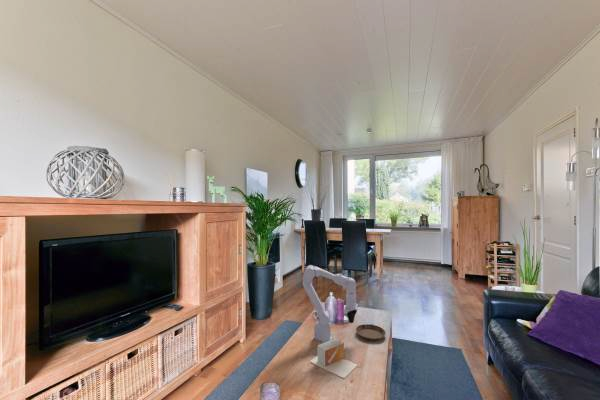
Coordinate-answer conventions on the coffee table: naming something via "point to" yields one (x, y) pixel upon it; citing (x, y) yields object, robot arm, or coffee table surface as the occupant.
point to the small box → (330, 352)
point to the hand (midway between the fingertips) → (351, 322)
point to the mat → (337, 367)
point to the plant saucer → (370, 332)
